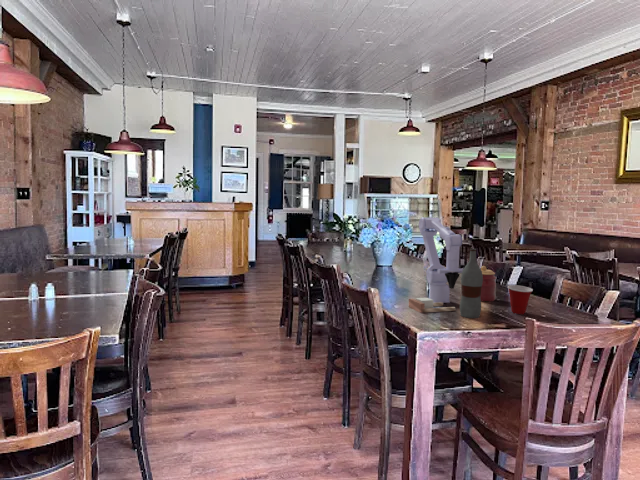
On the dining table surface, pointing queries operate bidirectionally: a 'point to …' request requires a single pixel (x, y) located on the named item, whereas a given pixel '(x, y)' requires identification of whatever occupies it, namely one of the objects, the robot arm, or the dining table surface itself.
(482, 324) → the dining table surface
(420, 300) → the keeper block
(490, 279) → the canister
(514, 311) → the plastic cup
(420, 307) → the keeper channel
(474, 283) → the bottle
